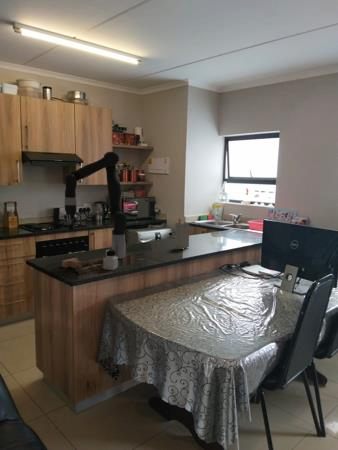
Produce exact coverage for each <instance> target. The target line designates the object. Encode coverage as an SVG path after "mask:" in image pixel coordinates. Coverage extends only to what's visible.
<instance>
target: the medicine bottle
mask: <svg viewBox="0 0 338 450" xmlns="http://www.w3.org/2000/svg"><path fill="white" fill-rule="evenodd" d="M102 261H103V262H102V269H103V270H109V271H114V270H116V269H117V268H119V259H118V257H115V250H112V249H107V250H105V257H103V259H102Z"/></svg>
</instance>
